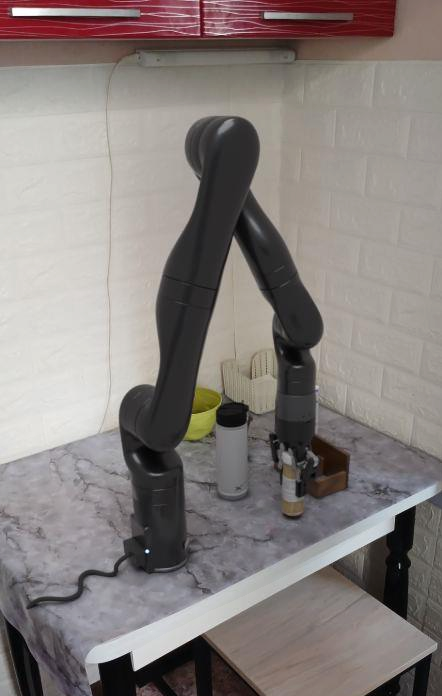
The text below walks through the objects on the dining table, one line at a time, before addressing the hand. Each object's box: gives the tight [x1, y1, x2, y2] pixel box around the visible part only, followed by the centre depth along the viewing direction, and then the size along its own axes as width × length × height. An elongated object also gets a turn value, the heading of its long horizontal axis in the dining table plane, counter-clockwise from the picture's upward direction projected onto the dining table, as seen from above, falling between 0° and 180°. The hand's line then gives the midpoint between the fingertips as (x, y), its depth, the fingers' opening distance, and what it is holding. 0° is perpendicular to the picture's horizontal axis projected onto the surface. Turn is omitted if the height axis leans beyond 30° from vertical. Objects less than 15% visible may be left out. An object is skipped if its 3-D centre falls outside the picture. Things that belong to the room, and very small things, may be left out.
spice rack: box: [273, 433, 351, 500], centre depth 161 cm, size 8×15×8 cm, turn 32°
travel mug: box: [215, 401, 250, 501], centre depth 154 cm, size 6×7×20 cm
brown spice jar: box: [281, 451, 306, 517], centre depth 147 cm, size 5×5×14 cm
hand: (293, 490), depth 148 cm, fingers closed on brown spice jar, 4 cm apart
